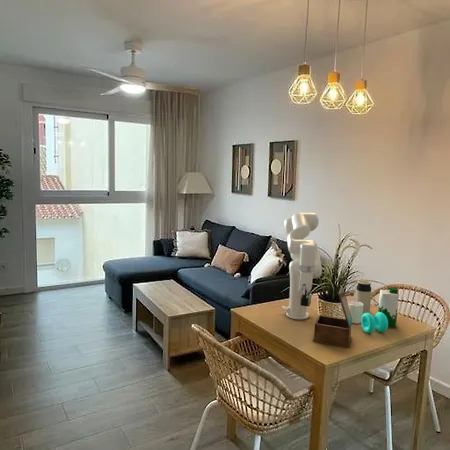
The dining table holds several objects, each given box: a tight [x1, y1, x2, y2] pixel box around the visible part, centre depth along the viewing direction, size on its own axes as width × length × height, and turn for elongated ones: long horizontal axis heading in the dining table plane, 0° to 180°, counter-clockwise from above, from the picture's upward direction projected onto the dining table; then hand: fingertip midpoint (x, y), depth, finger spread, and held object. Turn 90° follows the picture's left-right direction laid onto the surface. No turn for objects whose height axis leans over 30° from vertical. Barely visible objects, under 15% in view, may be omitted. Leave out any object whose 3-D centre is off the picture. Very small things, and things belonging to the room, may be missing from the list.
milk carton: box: [377, 287, 400, 329], centre depth 204 cm, size 9×9×20 cm
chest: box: [313, 314, 353, 348], centre depth 185 cm, size 16×13×9 cm
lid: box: [337, 286, 356, 328], centre depth 181 cm, size 16×13×6 cm
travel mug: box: [355, 279, 372, 315], centre depth 223 cm, size 8×8×18 cm
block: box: [300, 294, 312, 307], centre depth 191 cm, size 4×4×4 cm
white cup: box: [347, 300, 364, 325], centre depth 209 cm, size 8×8×10 cm
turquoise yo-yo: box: [360, 311, 389, 334], centre depth 195 cm, size 10×10×10 cm
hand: (305, 303), depth 192 cm, fingers closed on block, 4 cm apart
